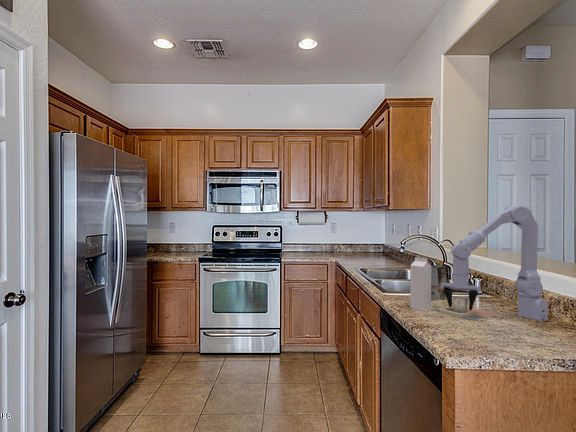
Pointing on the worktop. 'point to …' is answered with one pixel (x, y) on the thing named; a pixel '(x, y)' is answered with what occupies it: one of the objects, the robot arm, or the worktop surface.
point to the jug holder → (469, 315)
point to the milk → (420, 284)
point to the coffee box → (437, 282)
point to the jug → (460, 304)
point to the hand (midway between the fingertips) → (460, 308)
